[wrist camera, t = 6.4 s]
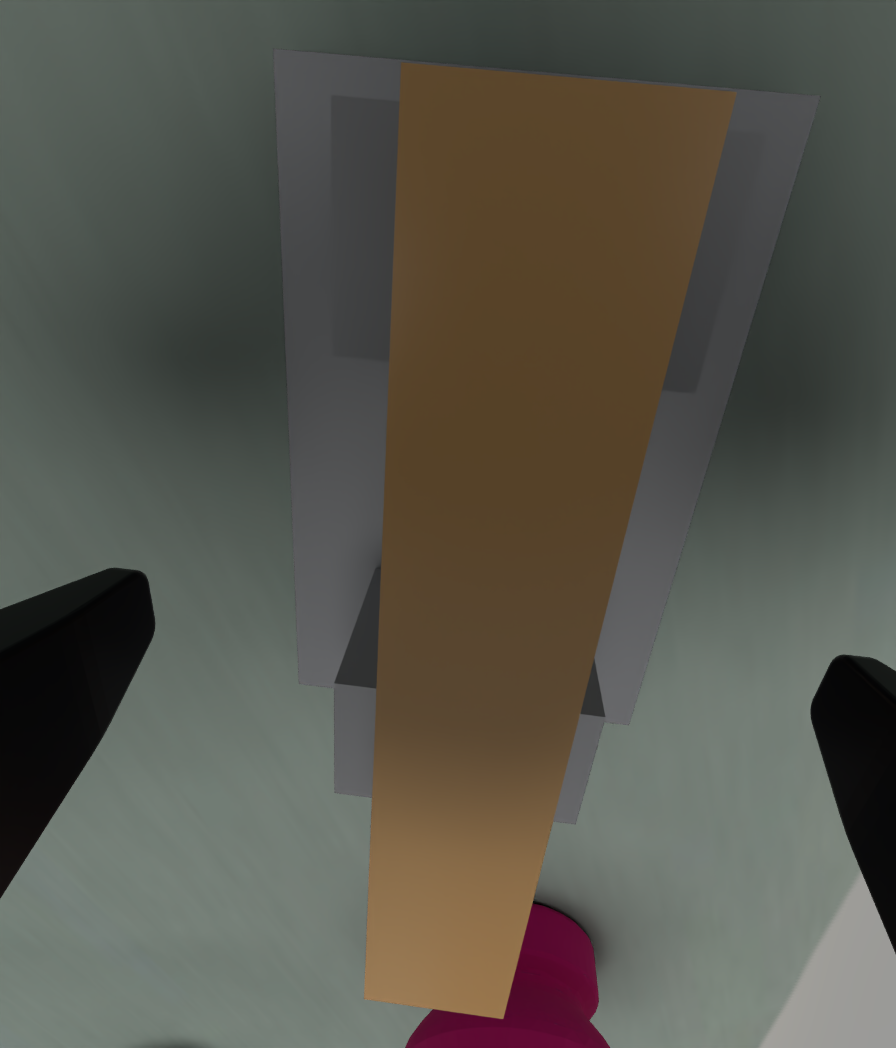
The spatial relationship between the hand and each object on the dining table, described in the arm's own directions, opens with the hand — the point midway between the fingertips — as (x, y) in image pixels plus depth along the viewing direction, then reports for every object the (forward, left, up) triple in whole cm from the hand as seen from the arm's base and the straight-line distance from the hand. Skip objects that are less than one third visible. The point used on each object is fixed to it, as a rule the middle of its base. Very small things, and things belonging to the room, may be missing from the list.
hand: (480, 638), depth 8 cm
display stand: (0, 0, -7) cm, 7 cm away
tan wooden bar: (0, 0, -2) cm, 2 cm away
